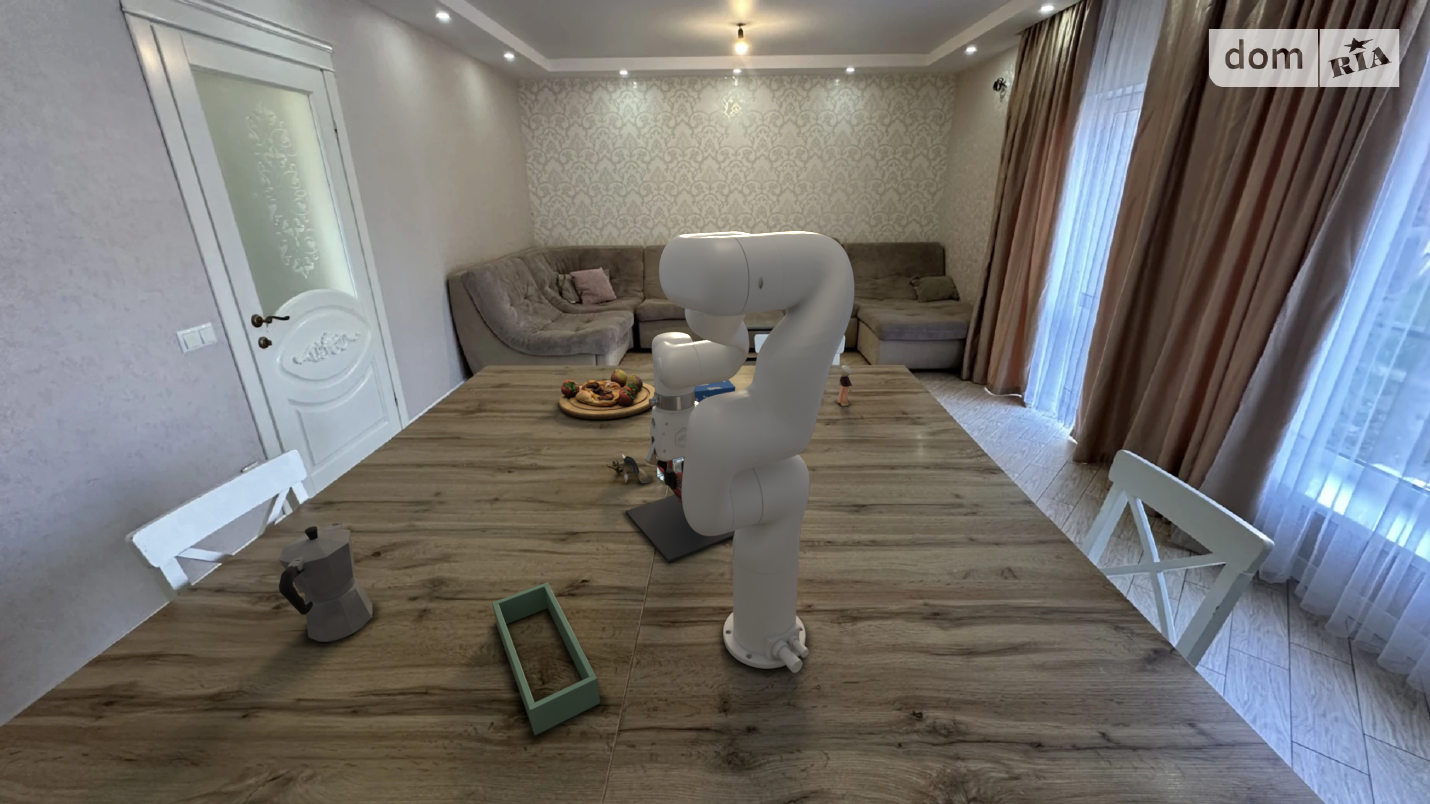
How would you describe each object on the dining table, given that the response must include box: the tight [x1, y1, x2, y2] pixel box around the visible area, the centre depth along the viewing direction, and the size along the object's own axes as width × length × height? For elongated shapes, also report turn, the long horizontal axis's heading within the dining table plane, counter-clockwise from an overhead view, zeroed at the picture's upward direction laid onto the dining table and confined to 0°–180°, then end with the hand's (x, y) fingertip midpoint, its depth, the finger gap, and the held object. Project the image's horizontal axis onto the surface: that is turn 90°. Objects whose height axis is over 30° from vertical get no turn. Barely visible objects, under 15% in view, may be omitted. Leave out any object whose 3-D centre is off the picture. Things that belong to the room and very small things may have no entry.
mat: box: [625, 494, 735, 564], centre depth 114 cm, size 20×16×1 cm
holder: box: [491, 581, 601, 736], centre depth 80 cm, size 23×9×4 cm, turn 32°
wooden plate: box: [558, 368, 655, 420], centre depth 178 cm, size 32×32×8 cm
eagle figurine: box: [605, 453, 652, 484], centre depth 131 cm, size 8×7×9 cm
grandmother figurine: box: [836, 364, 853, 407], centre depth 172 cm, size 8×4×13 cm, turn 25°
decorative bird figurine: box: [656, 466, 683, 504], centre depth 110 cm, size 3×18×10 cm, turn 39°
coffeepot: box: [278, 522, 374, 643], centre depth 85 cm, size 15×9×18 cm, turn 6°
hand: (678, 483), depth 110 cm, fingers closed on decorative bird figurine, 3 cm apart
